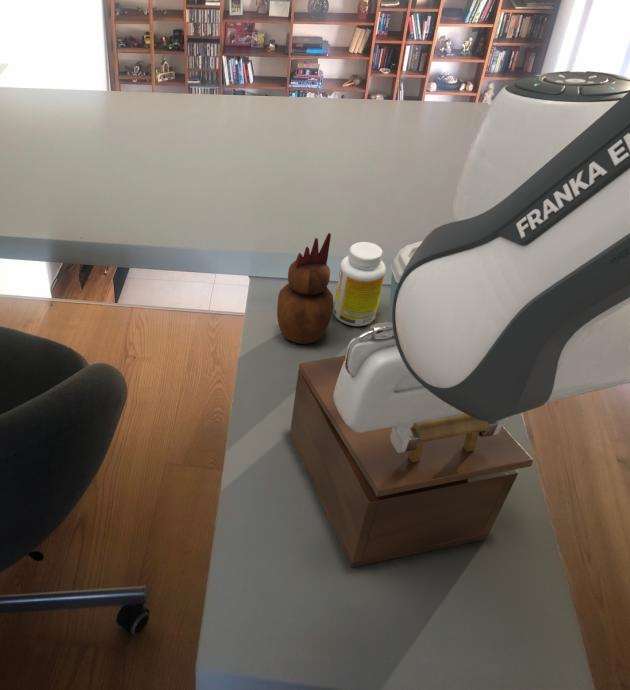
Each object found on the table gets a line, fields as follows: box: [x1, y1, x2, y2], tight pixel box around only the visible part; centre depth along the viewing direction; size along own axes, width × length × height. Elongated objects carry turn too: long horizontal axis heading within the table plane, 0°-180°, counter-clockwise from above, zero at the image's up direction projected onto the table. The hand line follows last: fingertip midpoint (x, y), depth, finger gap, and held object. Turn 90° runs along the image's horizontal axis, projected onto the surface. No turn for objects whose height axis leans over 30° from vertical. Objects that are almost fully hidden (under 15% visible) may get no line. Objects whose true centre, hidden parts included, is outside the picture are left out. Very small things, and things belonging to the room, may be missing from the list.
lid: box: [298, 355, 534, 497], centre depth 62 cm, size 18×14×5 cm
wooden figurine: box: [276, 232, 334, 345], centre depth 84 cm, size 7×6×15 cm
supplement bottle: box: [333, 241, 386, 327], centre depth 89 cm, size 6×6×10 cm
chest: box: [289, 369, 519, 568], centre depth 68 cm, size 17×14×10 cm
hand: (443, 438), depth 58 cm, fingers closed on lid, 6 cm apart
